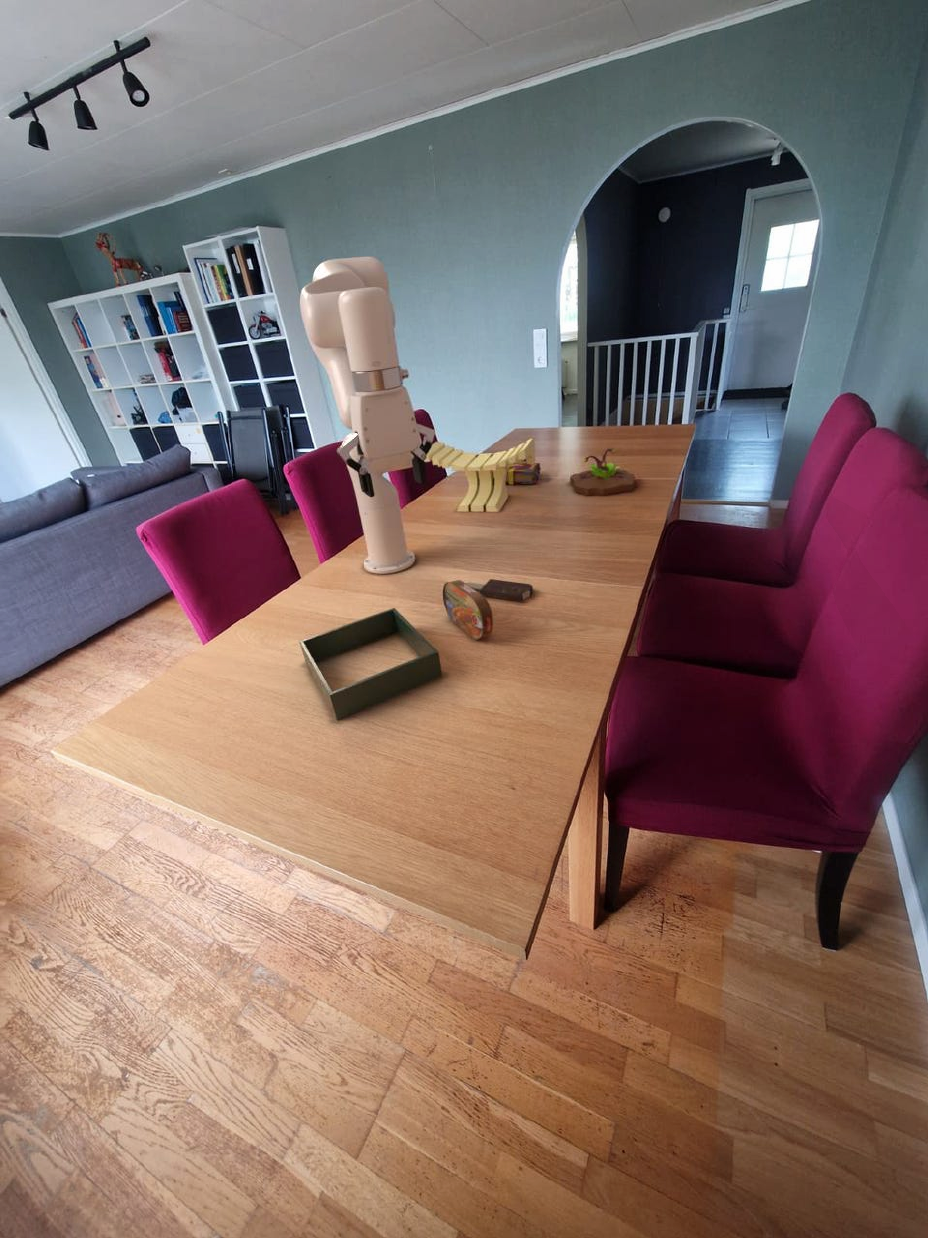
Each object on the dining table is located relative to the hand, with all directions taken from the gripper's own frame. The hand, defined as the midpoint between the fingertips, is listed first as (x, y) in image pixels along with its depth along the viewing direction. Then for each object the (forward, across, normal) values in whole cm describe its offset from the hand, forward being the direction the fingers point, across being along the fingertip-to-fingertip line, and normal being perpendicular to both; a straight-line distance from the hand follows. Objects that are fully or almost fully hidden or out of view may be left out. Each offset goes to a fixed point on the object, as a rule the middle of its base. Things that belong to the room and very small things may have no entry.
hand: (395, 488), depth 89 cm
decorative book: (+27, -68, -62) cm, 96 cm away
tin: (+26, -6, +10) cm, 29 cm away
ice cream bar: (+26, -18, +2) cm, 32 cm away
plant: (+27, -83, -35) cm, 94 cm away
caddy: (+26, +14, +12) cm, 32 cm away
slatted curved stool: (+27, -47, -50) cm, 73 cm away
